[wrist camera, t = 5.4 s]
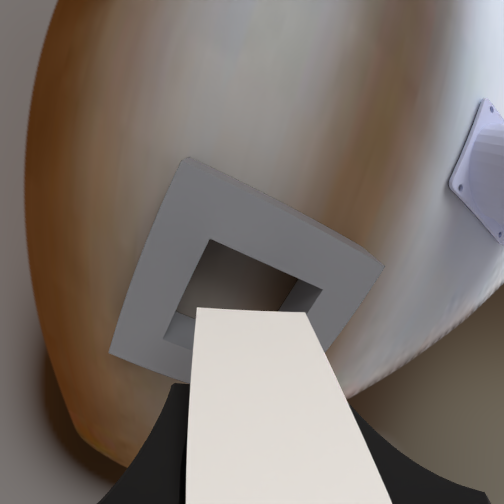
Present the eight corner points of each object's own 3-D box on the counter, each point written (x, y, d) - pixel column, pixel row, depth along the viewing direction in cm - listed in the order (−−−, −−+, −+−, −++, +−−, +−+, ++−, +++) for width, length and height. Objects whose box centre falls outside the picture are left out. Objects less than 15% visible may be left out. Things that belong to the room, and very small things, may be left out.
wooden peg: (304, 312, 11) (394, 509, 4) (285, 385, 12) (331, 549, 5) (196, 307, 10) (185, 539, 3) (195, 384, 12) (194, 562, 4)
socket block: (361, 246, 17) (385, 266, 14) (271, 376, 20) (278, 407, 17) (188, 156, 14) (181, 160, 11) (121, 323, 17) (108, 352, 15)
